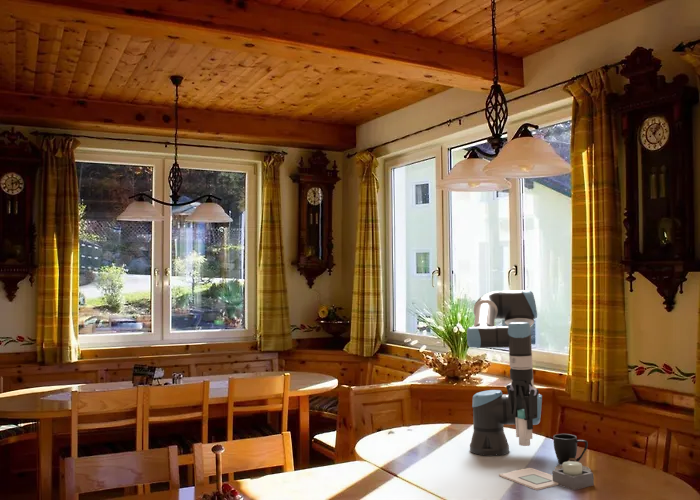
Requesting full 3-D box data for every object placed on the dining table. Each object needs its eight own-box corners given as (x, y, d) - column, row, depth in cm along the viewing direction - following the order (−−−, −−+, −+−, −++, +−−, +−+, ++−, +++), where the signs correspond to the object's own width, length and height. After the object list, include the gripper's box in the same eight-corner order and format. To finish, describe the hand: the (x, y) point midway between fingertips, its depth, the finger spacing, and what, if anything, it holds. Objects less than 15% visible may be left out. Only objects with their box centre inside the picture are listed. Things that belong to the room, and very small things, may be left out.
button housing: (552, 482, 214) (552, 470, 214) (572, 478, 218) (572, 466, 218) (573, 490, 206) (573, 477, 206) (593, 485, 210) (593, 472, 210)
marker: (516, 444, 220) (515, 409, 220) (525, 442, 221) (523, 408, 222) (524, 446, 216) (522, 411, 217) (532, 444, 218) (531, 410, 219)
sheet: (499, 475, 223) (499, 473, 223) (530, 469, 230) (530, 467, 230) (536, 490, 207) (536, 487, 207) (568, 482, 214) (568, 480, 214)
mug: (584, 468, 228) (583, 441, 228) (551, 464, 235) (549, 437, 236) (591, 463, 235) (590, 436, 235) (559, 458, 242) (557, 432, 242)
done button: (559, 475, 213) (558, 463, 214) (572, 472, 216) (571, 460, 216) (573, 480, 208) (572, 467, 208) (586, 477, 211) (585, 464, 211)
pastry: (587, 479, 218) (586, 465, 218) (550, 474, 224) (550, 461, 225) (594, 469, 228) (593, 456, 228) (559, 465, 234) (559, 452, 235)
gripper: (496, 366, 226) (499, 434, 225) (529, 371, 211) (533, 444, 210) (513, 364, 229) (516, 431, 228) (547, 369, 215) (550, 441, 213)
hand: (524, 437), depth 219 cm, fingers closed on marker, 3 cm apart
